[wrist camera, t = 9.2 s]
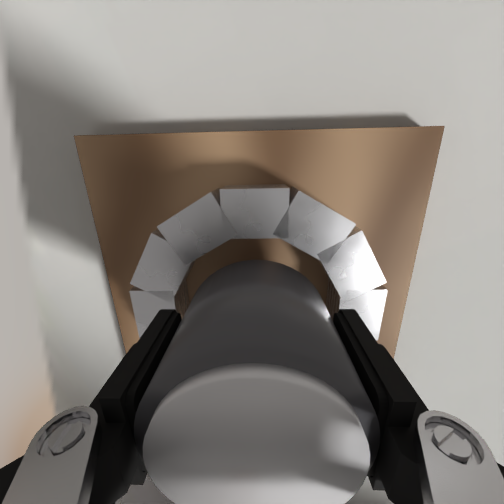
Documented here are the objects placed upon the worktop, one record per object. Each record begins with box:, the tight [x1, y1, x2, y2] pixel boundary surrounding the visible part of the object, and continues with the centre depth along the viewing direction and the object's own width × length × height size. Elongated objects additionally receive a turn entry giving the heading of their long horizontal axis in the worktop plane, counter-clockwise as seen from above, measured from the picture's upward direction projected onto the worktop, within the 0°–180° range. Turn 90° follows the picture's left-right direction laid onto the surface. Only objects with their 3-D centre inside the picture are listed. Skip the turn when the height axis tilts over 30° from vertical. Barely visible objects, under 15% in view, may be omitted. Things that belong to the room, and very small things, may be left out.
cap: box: [134, 260, 380, 504], centre depth 8 cm, size 6×6×5 cm
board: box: [74, 126, 444, 359], centre depth 14 cm, size 16×16×1 cm
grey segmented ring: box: [129, 184, 387, 340], centre depth 12 cm, size 12×12×2 cm
